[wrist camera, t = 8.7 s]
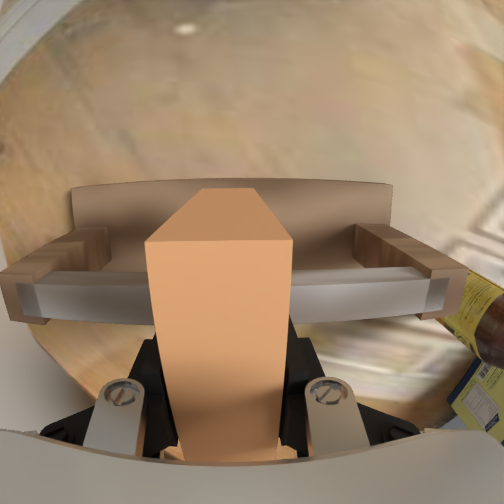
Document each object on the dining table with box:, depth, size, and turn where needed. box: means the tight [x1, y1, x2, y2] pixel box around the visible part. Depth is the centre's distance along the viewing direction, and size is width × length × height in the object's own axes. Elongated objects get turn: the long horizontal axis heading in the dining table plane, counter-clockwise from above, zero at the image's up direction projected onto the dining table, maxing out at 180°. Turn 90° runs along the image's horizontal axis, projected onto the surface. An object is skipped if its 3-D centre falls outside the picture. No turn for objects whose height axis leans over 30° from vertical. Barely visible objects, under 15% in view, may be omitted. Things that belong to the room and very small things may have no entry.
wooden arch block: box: [145, 188, 293, 462], centre depth 13 cm, size 10×3×12 cm, turn 0°
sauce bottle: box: [435, 269, 504, 370], centre depth 19 cm, size 7×6×20 cm
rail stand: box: [0, 178, 469, 325], centre depth 20 cm, size 10×28×13 cm, turn 90°
